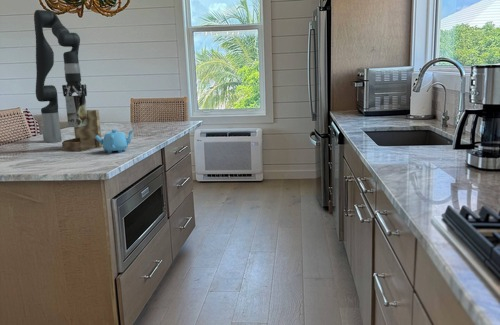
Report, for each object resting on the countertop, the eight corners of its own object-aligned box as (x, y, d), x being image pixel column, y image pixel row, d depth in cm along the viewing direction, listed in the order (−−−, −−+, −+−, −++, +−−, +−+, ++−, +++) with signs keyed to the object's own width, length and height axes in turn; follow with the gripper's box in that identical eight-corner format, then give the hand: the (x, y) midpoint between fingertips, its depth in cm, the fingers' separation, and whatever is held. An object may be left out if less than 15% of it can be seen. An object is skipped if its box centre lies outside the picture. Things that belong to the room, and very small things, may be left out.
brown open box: (62, 150, 230) (61, 141, 229) (79, 146, 241) (78, 137, 240) (81, 151, 225) (80, 141, 224) (96, 147, 236) (95, 138, 235)
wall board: (76, 146, 241) (72, 110, 237) (78, 145, 243) (74, 109, 239) (99, 147, 236) (95, 110, 232) (102, 146, 238) (98, 110, 233)
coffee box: (79, 127, 226) (75, 95, 223) (67, 127, 228) (64, 96, 224) (88, 125, 235) (85, 94, 232) (78, 125, 236) (74, 95, 233)
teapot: (122, 148, 232) (120, 126, 230) (136, 150, 223) (134, 128, 221) (95, 152, 221) (93, 130, 219) (109, 155, 212) (107, 132, 210)
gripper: (88, 72, 226) (92, 104, 230) (67, 72, 231) (70, 104, 235) (78, 72, 220) (82, 105, 223) (56, 73, 225) (60, 105, 228)
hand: (76, 104), depth 229 cm, fingers closed on coffee box, 7 cm apart
